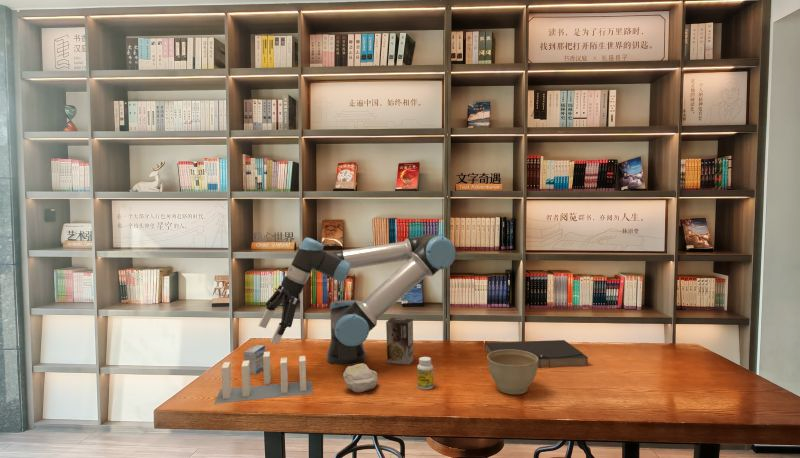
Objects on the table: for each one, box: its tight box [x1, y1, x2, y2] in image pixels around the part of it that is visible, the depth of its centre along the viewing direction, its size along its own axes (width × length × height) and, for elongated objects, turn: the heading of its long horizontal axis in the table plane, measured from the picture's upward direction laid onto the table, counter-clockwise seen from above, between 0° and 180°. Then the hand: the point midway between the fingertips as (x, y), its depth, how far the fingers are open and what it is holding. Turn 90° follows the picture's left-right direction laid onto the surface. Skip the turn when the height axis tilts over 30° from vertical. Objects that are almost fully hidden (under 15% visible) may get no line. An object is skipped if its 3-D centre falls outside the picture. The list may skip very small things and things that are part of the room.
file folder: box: [484, 339, 589, 368], centre depth 186 cm, size 33×4×24 cm
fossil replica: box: [342, 362, 379, 393], centre depth 157 cm, size 12×8×10 cm
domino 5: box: [298, 355, 307, 391], centre depth 157 cm, size 2×5×10 cm, turn 12°
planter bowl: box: [486, 349, 538, 395], centre depth 155 cm, size 16×16×11 cm
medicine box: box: [243, 344, 266, 375], centre depth 174 cm, size 8×4×9 cm, turn 168°
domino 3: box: [263, 350, 272, 385], centre depth 164 cm, size 2×5×10 cm, turn 12°
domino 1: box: [221, 361, 233, 399], centre depth 152 cm, size 2×5×10 cm, turn 12°
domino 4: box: [280, 356, 289, 393], centre depth 156 cm, size 2×5×10 cm, turn 12°
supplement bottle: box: [416, 356, 435, 390], centre depth 158 cm, size 5×5×10 cm
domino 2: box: [241, 360, 252, 397], centre depth 154 cm, size 2×5×10 cm, turn 12°
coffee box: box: [385, 317, 414, 366], centre depth 183 cm, size 9×6×16 cm
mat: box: [214, 380, 314, 405], centre depth 155 cm, size 30×11×1 cm, turn 102°
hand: (267, 334), depth 166 cm, fingers open, 13 cm apart
